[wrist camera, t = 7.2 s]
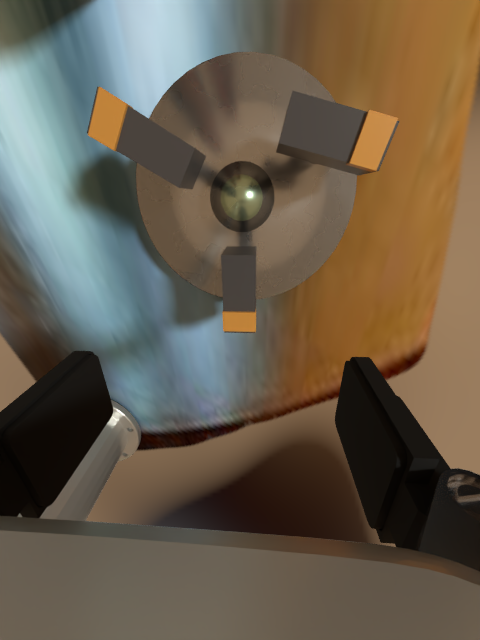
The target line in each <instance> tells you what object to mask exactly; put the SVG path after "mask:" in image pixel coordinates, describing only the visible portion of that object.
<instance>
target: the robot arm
mask: <svg viewBox="0 0 480 640" xmlns="http://www.w3.org/2000/svg"><path fill="white" fill-rule="evenodd" d="M335 424H336V428H337V431H338V434H339V437H340V440H341V443H342V445H343V449H344V452H345V454H346V458H347V461H348V464H349V467H350V470H351V473H352V476H353V479H354V482H355V485H356V488H357V491H358V494H359V497H360V500H361V503H362V506H363V509H364V512H365V515H366V518H367V521H368V523H369V525H370V527H371V528H374V529H376V530H377V533H378V536H379V539H380V542H381V543H394V544H395V545H396V547H391V546H384V545H377V544H370V543H359V542H349V541H339V540H328V539H317V538H307V537H295V536H282V535H268V534H255V533H242V532H229V531H216V530H202V529H189V528H175V527H161V526H146V525H131V524H117V523H103V522H88V521H86V519H87V517H88V515H89V513H90V512H91V510H92V508H93V506H94V504H95V502H96V500H97V499H98V497H99V495H100V493H101V491H102V489H103V488H104V486H105V484H106V482H107V480H108V478H109V477H110V474H111V473H112V471H113V469H114V467H115V465H116V463H117V462H118V461H121V460H124V459H126V458H128V457H130V456H131V455H133V453H134V452H135V451H136V449H137V447H138V445H139V443H140V440H141V431H140V427H139V425H138V423H137V421H136V419H135V418H134V417H133V416H132V414H131V413H130V412H129V411H128V410H126V409H125V408H124V407H123V406H121V405H120V404H118V403H117V402H115V401H113V400H111V399H110V395H109V392H108V389H107V385H106V382H105V379H104V375H103V372H102V369H101V365H100V362H99V359H98V357H97V356H96V355H94V353H93V352H91V351H74V352H72V353H71V354H70V355H69V356H68V357H66V358H65V359H64V360H63V361H62V362H60V363H59V364H58V365H57V366H55V367H54V368H53V369H52V370H51V371H49V372H48V373H47V374H46V375H45V376H43V377H42V378H41V379H40V380H39V381H37V382H36V383H35V384H34V385H32V386H31V387H30V388H29V389H28V390H27V391H25V392H24V393H23V394H22V395H20V396H19V397H18V398H17V399H16V400H14V401H13V402H12V403H11V404H9V405H8V406H7V407H6V408H5V409H3V410H2V411H1V412H0V640H480V475H478V474H476V473H473V472H471V471H468V470H463V469H450V467H449V466H448V465H447V463H446V462H445V460H444V459H443V457H442V456H441V455H440V453H439V452H438V450H437V449H436V448H435V446H434V445H433V443H432V442H431V440H430V439H429V438H428V436H427V435H426V433H425V432H424V430H423V429H422V428H421V426H420V425H419V423H418V422H417V420H416V419H415V418H414V416H413V415H412V413H411V412H410V411H409V409H408V408H407V406H406V405H405V403H404V402H403V401H402V400H401V398H400V397H398V396H396V395H395V393H394V392H393V390H392V389H391V388H390V386H389V385H388V383H387V382H386V380H385V379H384V377H383V376H382V374H381V373H380V372H379V370H378V369H377V367H376V366H375V364H374V363H373V361H372V360H371V359H370V358H369V357H352V358H351V359H350V361H346V362H345V366H344V371H343V377H342V382H341V387H340V393H339V398H338V404H337V410H336V415H335Z"/></svg>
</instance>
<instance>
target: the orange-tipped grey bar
mask: <svg viewBox="0 0 480 640" xmlns="http://www.w3.org/2000/svg"><path fill="white" fill-rule="evenodd" d="M87 133H88V135H89V136H90V137H92V138H94V139H95V140H97V141H99V142H100V143H102V144H104V145H105V146H107V147H109V148H110V149H112V150H114V151H117V152H120V153H121V154H123V155H125V156H126V157H128V158H130V159H131V160H133V161H135V162H136V163H138V164H140V165H141V166H143V167H145V168H146V169H148V170H150V171H151V172H153V173H155V174H156V175H158V176H160V177H161V178H163V179H165V180H166V181H168V182H170V183H171V184H173V185H175V186H177V187H178V188H183V189H193V187H194V185H195V182H196V180H197V177H198V175H199V173H200V170H201V168H202V165H203V163H204V161H205V158H206V156H205V155H204V154H203V153H201V152H200V151H198V150H197V149H196V148H194V147H193V146H191V145H189V144H188V143H186V142H185V141H183V140H182V139H180V138H178V137H177V136H175V135H174V134H172V133H170V132H169V131H167V130H166V129H164V128H162V127H161V126H159V125H158V124H156V123H155V122H153V121H151V120H150V119H148V118H147V117H145V116H143V115H142V114H140V113H139V112H137V111H135V110H134V109H133V108H132V107H131V106H129V105H128V104H126V103H125V102H123V101H122V100H120V99H118V98H117V97H115V96H114V95H112V94H110V93H109V92H107V91H106V90H104V89H103V88H101V87H97V91H96V95H95V100H94V104H93V108H92V113H91V117H90V122H89V126H88V131H87Z"/></svg>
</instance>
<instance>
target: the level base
mask: <svg viewBox="0 0 480 640" xmlns="http://www.w3.org/2000/svg"><path fill="white" fill-rule="evenodd" d="M292 91H296V92H300V93H303V94H307V95H310V96H314V97H317V98H320V99H324V100H327V101H331V102H334V103H336V102H335V101H334V99H333V98H332V96H331V95H330V93H329V92H328V91H327V90H326V89H325V88H324V87H323V86H322V84H321V83H320V82H319V81H318V80H317V79H316V78H314V77H313V76H312V75H311V74H309V73H308V72H307V71H305V70H304V69H303V68H301V67H299V66H297V65H295V64H294V63H292V62H290V61H288V60H286V59H283V58H280V57H277V56H274V55H271V54H264V53H257V52H235V53H231V54H226V55H221V56H217V57H215V58H212V59H210V60H207V61H205V62H202V63H201V64H199V65H197V66H196V67H194V68H192V69H191V70H189V71H188V72H186V73H185V74H184V75H183V76H182V77H180V78H179V79H178V80H177V81H176V82H174V84H173V85H172V86H171V87H170V88H169V89H168V90H167V92H166V93H165V94H164V95H163V96H162V98H161V99H160V101H159V102H158V104H157V105H156V107H155V108H154V110H153V112H152V114H151V116H150V118H149V119H150V120H151V121H153V122H155V123H156V124H158V125H159V126H161V127H162V128H164V129H166V130H167V131H169V132H170V133H172V134H174V135H175V136H177V137H178V138H180V139H182V140H183V141H185V142H186V143H188V144H189V145H191V146H193V147H194V148H196V149H197V150H198V151H200V152H201V153H203V154H204V155H205V156H206V158H205V161H204V163H203V165H202V168H201V170H200V173H199V175H198V177H197V180H196V182H195V185H194V187H193V189H183V188H178V187H177V186H175V185H173V184H171V183H170V182H168V181H166V180H165V179H163V178H161V177H160V176H158V175H156V174H155V173H153V172H151V171H150V170H148V169H146V168H145V167H143V166H141V165H140V164H138V163H137V168H136V188H137V196H138V203H139V208H140V211H141V215H142V219H143V222H144V224H145V227H146V230H147V232H148V234H149V236H150V238H151V240H152V242H153V244H154V246H155V247H156V249H157V250H158V252H159V253H160V255H161V256H162V258H163V259H164V260H165V261H166V262H167V263H168V265H169V266H170V267H171V268H172V269H173V270H174V271H175V272H176V273H177V274H179V275H180V276H181V277H182V278H183V279H185V280H186V281H188V282H189V283H190V284H192V285H194V286H195V287H197V288H199V289H201V290H203V291H205V292H208V293H210V294H213V295H216V296H219V297H223V290H222V269H221V254H222V253H223V251H224V250H225V248H226V247H227V246H257V257H256V299H263V298H267V297H272V296H275V295H278V294H281V293H283V292H286V291H288V290H290V289H292V288H294V287H296V286H297V285H299V284H300V283H302V282H303V281H305V280H306V279H308V278H309V277H310V276H311V275H312V274H314V273H315V272H316V271H317V270H318V269H319V268H320V267H321V266H322V265H323V264H324V263H325V262H326V261H327V259H328V258H329V257H330V255H331V254H332V252H333V251H334V250H335V248H336V247H337V245H338V243H339V241H340V240H341V238H342V236H343V234H344V231H345V229H346V227H347V224H348V222H349V219H350V216H351V212H352V209H353V205H354V199H355V193H356V181H357V175H355V174H352V173H348V172H345V171H341V170H337V169H334V168H330V167H327V166H323V165H319V164H312V163H310V162H309V161H305V160H301V159H298V158H294V157H291V156H287V155H283V154H280V153H276V150H277V146H278V142H279V138H280V134H281V131H282V127H283V123H284V119H285V115H286V111H287V108H288V104H289V101H290V98H291V94H292Z"/></svg>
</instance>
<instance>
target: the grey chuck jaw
mask: <svg viewBox="0 0 480 640" xmlns="http://www.w3.org/2000/svg"><path fill="white" fill-rule="evenodd" d="M256 257H257V246H227V247H226V248H225V250H224V251H223V253H222V254H221V269H222V290H223V331H225V332H234V333H255V332H256Z"/></svg>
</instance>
